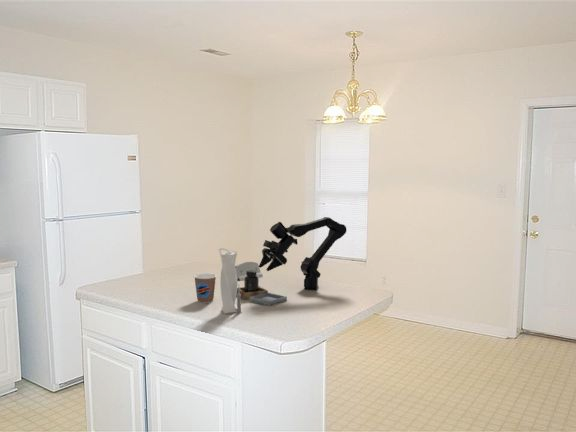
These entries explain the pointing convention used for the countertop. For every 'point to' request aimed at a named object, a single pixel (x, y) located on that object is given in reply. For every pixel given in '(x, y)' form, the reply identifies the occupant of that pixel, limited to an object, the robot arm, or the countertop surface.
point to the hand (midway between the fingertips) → (263, 268)
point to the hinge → (245, 267)
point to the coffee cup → (205, 287)
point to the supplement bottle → (251, 282)
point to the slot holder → (250, 294)
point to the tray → (268, 299)
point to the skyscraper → (229, 283)
